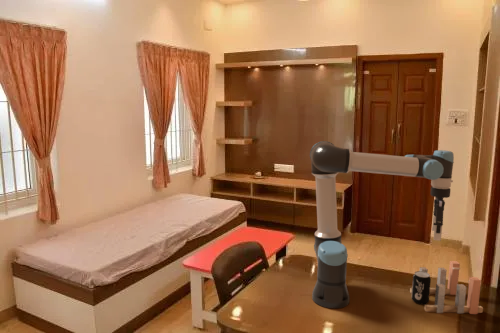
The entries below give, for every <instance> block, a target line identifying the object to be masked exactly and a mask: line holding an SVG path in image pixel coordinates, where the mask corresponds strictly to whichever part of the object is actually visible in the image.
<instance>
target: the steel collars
mask: <svg viewBox="0 0 500 333" xmlns="http://www.w3.org/2000/svg"><path fill="white" fill-rule="evenodd" d="M419 271H423V272H426V273H429V272H428V268H427V267H426V266H425V267H424V266H422V267H421V266H420V267H419ZM446 281H447V268H445V267H438V268H437V280H436V284H435V288H436V294H434V295H435V296H434V297H435V298H434V305H435V306H436V312H435V313H436V314H444V312H443V308H444V305H445V295H446V294H445V288H446ZM466 295H467V286H465V284H463V283H461V284H460V283H458V284H457V289H456V295H455V301H454V306H456V307H457V310H456V312H455V313H456V314H465V312H464V306H466Z"/></svg>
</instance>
